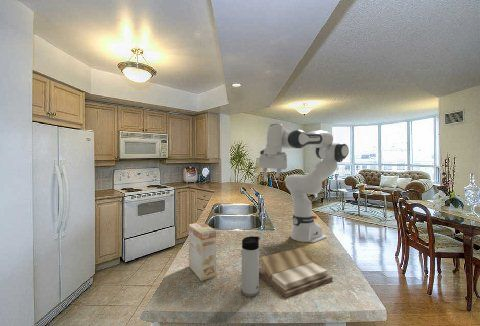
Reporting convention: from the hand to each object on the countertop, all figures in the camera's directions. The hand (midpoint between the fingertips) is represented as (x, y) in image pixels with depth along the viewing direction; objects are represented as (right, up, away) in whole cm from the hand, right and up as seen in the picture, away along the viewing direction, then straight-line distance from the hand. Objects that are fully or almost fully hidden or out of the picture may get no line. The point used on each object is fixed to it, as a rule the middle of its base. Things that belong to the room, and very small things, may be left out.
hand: (271, 176), depth 126 cm
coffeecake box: (-34, -40, -28) cm, 59 cm away
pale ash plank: (+7, -38, -36) cm, 53 cm away
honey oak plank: (+2, -36, -28) cm, 46 cm away
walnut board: (+5, -40, -32) cm, 51 cm away
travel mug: (-13, -40, -43) cm, 60 cm away
